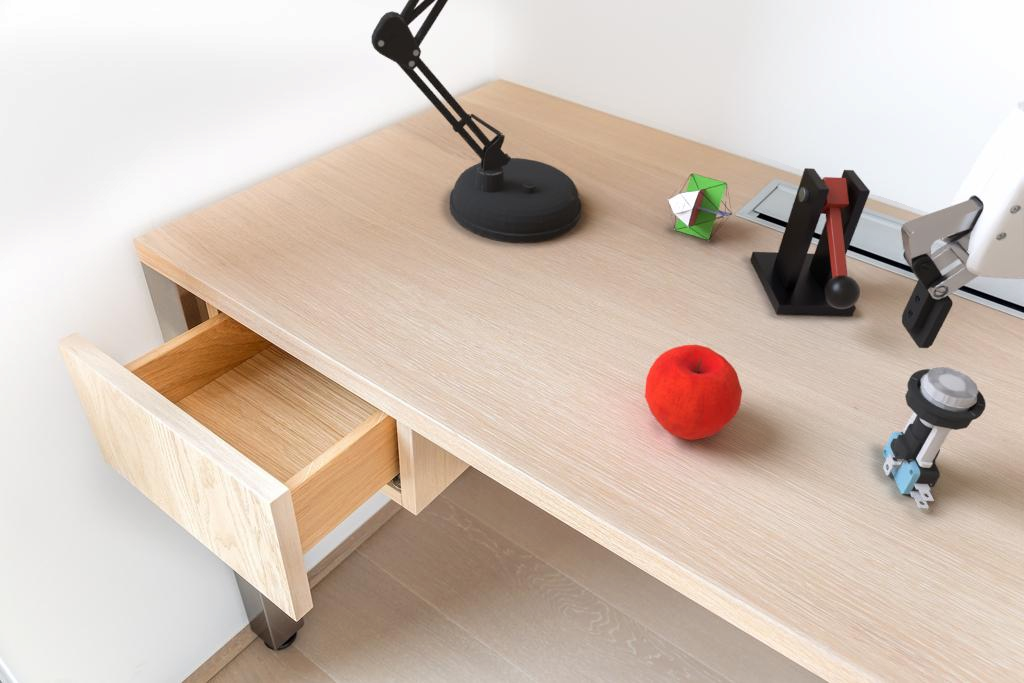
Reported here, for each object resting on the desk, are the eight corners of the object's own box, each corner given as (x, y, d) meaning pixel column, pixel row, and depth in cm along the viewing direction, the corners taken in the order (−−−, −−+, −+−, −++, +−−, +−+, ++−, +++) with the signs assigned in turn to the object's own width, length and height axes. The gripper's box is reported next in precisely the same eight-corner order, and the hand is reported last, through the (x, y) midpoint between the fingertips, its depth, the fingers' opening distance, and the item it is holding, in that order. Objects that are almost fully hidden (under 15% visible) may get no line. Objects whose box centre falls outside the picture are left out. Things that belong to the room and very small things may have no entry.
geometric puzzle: (684, 188, 97) (681, 154, 89) (739, 204, 94) (741, 170, 87) (662, 239, 95) (657, 209, 88) (717, 257, 93) (717, 227, 86)
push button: (954, 515, 62) (1013, 423, 55) (886, 510, 62) (937, 418, 55) (922, 452, 67) (972, 361, 61) (859, 448, 67) (903, 357, 60)
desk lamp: (648, 185, 101) (731, -255, 73) (586, 290, 82) (667, -251, 54) (473, 144, 107) (487, -277, 79) (378, 233, 88) (352, -280, 60)
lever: (851, 313, 77) (868, 303, 74) (819, 312, 77) (835, 302, 74) (837, 190, 80) (853, 175, 77) (806, 189, 80) (821, 174, 77)
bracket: (852, 316, 82) (898, 206, 74) (776, 314, 81) (813, 203, 73) (819, 262, 89) (857, 157, 81) (749, 260, 89) (781, 154, 81)
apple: (628, 392, 70) (642, 326, 66) (715, 391, 71) (735, 326, 67) (646, 459, 64) (663, 392, 60) (741, 458, 65) (765, 391, 60)
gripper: (1213, 80, 48) (1068, 310, 58) (937, 64, 46) (841, 301, 57) (1316, 133, 42) (1135, 377, 53) (1004, 116, 41) (882, 369, 51)
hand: (982, 337), depth 55 cm, fingers open, 9 cm apart
